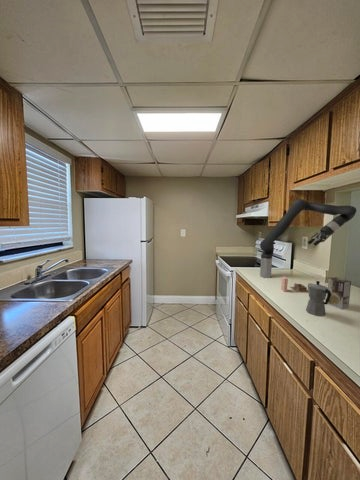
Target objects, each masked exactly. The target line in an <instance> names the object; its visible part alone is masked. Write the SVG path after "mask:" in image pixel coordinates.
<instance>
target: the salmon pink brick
mask: <svg viewBox="0 0 360 480" xmlns="http://www.w3.org/2000/svg"><path fill="white" fill-rule="evenodd" d="M288 281H289V278H287V277H286V276H282V277H281V289H280V290H281V291H282V292H283V293H287V292H288Z"/></svg>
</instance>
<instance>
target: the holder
mask: <svg viewBox="0 0 360 480" xmlns="http://www.w3.org/2000/svg"><path fill="white" fill-rule="evenodd" d="M289 288H290V289H292V290H293V291H294V292H295V293H302V294H308V286H305V285H304V284H301V283H296V282H295V283H294V284H293V286H289Z"/></svg>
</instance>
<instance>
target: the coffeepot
mask: <svg viewBox="0 0 360 480" xmlns="http://www.w3.org/2000/svg"><path fill="white" fill-rule="evenodd" d="M315 282H316V283H307V290H308V293H307V294H308V297H309V298H308V301H307V305H306V308H305V311H306V312H307V313H308V314H309V315H313V316H316V317H325V316H326V315H327V314H326V307H325V306H327V305H329V304H328V301H329V299H330V297H331V292H330V290H328V286H326V285H322V284H320V281H318V280H316V281H315Z"/></svg>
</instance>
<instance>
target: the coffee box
mask: <svg viewBox="0 0 360 480" xmlns="http://www.w3.org/2000/svg"><path fill="white" fill-rule="evenodd" d="M351 286H352V281H351V280H347V279H344V278H343V279H342V278H339V277H331V278H328V286H327V288H328V290H330V292H331V297H330V299H329V301H328V304H327V305H330V306H332V307H335V308H338V309H339V310H340V309H341V310H346V309H349V308H350V299H351V298H350V297H351Z"/></svg>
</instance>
